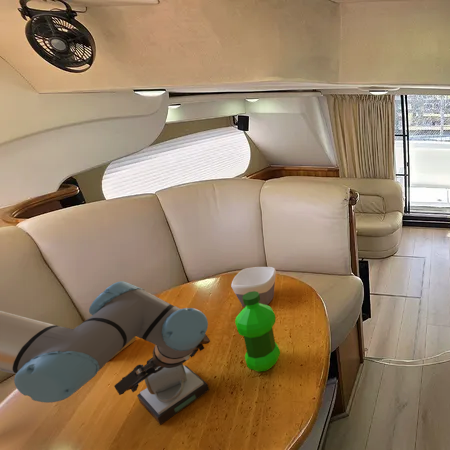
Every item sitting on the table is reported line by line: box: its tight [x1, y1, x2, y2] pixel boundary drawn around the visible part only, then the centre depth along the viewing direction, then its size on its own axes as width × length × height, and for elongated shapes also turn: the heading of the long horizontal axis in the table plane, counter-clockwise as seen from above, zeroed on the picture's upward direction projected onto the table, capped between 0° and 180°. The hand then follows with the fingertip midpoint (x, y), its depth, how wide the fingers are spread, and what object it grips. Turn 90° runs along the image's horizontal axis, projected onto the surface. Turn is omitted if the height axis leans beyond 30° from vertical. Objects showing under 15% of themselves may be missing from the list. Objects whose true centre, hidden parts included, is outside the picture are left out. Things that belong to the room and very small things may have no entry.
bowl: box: [230, 266, 277, 308], centre depth 125 cm, size 15×15×11 cm
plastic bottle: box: [234, 291, 281, 373], centre depth 91 cm, size 10×10×25 cm
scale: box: [136, 365, 210, 426], centre depth 84 cm, size 12×12×3 cm
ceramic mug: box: [143, 363, 187, 402], centre depth 82 cm, size 11×8×8 cm
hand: (162, 368), depth 83 cm, fingers open, 13 cm apart
